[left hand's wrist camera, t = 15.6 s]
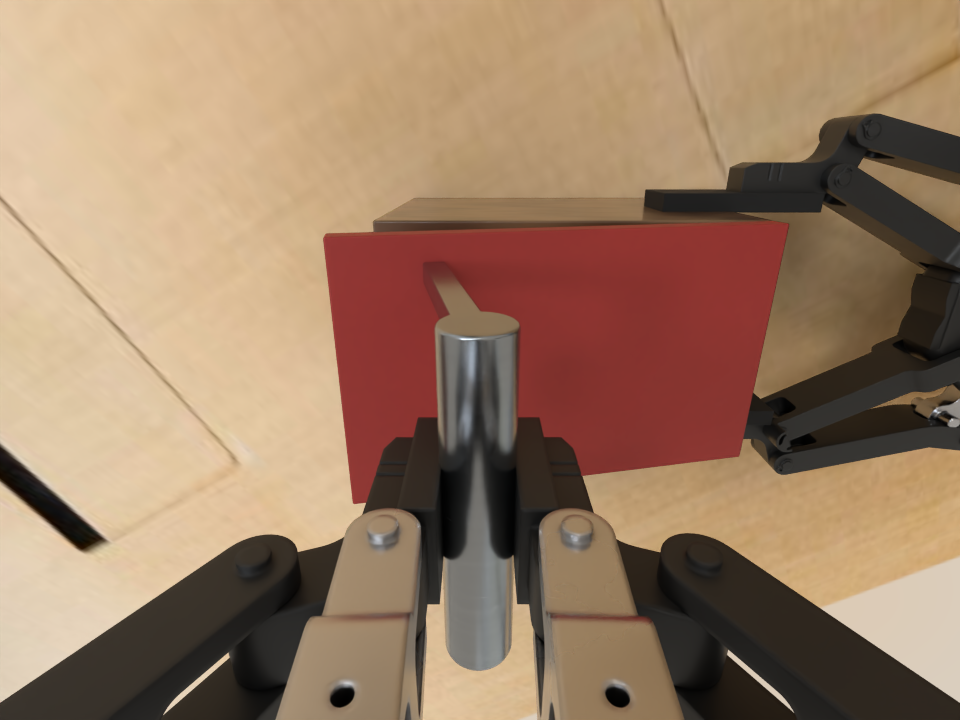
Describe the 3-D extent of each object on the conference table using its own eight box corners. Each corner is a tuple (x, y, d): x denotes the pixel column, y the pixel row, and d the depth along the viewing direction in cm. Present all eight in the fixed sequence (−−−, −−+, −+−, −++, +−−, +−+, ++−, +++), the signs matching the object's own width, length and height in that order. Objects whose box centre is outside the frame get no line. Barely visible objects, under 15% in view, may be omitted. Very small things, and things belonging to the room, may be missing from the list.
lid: (353, 491, 19) (343, 720, 11) (325, 233, 15) (282, 308, 8) (727, 446, 22) (923, 605, 14) (772, 220, 18) (1066, 266, 10)
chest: (420, 352, 32) (389, 444, 22) (413, 198, 29) (372, 220, 18) (650, 353, 32) (728, 445, 22) (670, 197, 28) (774, 220, 18)
